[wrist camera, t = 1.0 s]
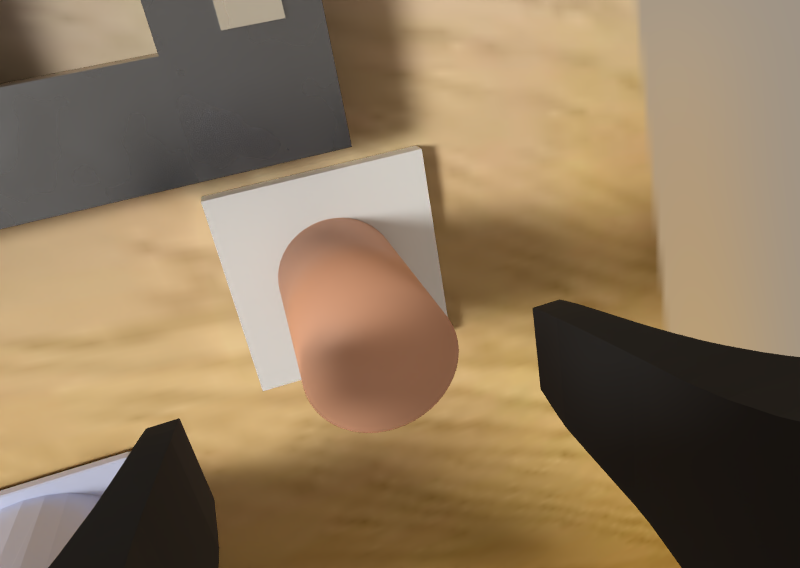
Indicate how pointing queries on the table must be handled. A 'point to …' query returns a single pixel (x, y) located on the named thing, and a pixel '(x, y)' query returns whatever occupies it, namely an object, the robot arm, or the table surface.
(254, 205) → the tile
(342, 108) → the hole plate
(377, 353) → the peg
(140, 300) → the table surface
